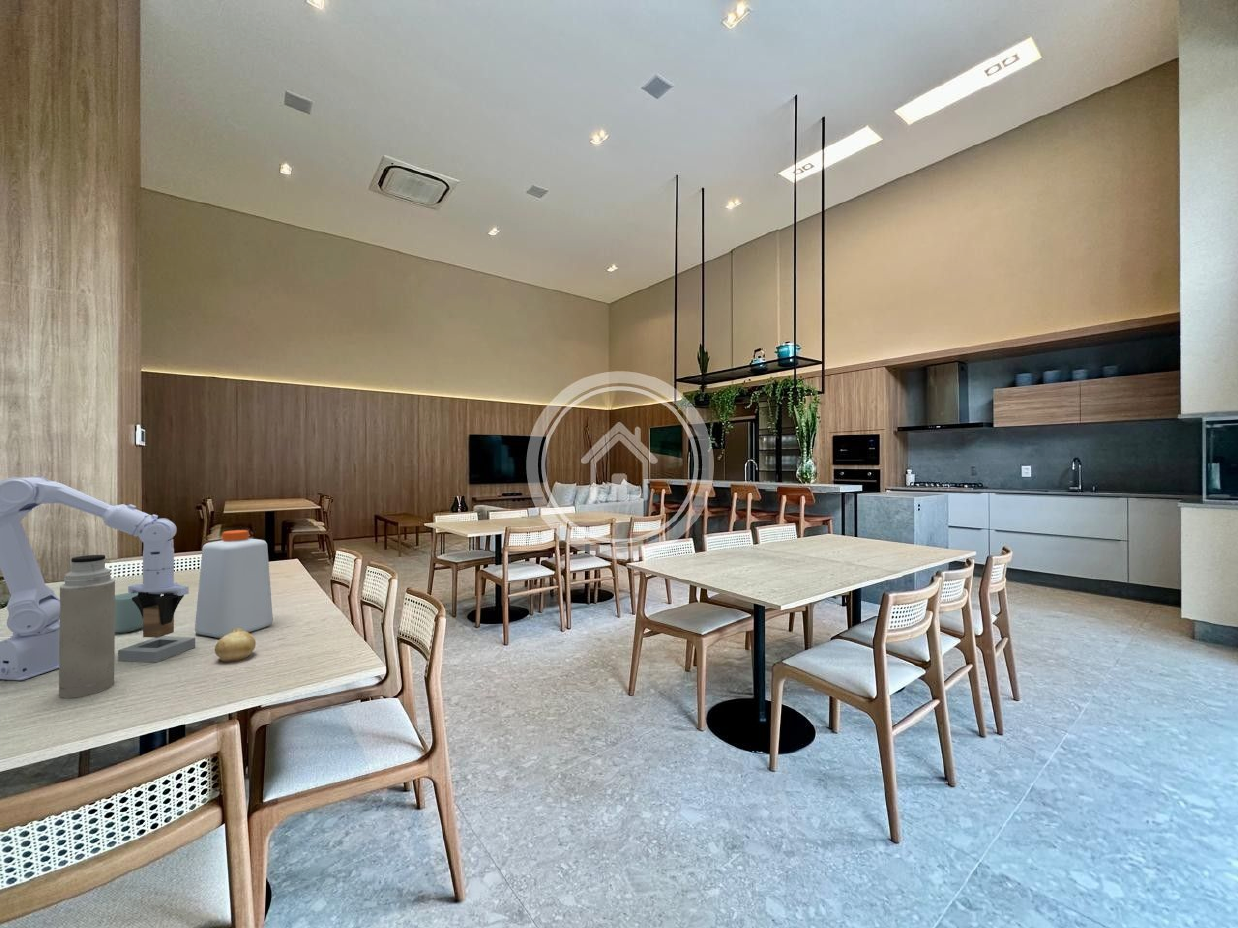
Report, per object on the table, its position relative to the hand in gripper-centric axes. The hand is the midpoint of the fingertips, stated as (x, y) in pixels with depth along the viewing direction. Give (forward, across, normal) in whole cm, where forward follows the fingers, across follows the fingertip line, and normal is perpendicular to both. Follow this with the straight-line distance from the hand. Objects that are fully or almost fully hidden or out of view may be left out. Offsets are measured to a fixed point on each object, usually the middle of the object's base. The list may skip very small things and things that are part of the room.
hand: (158, 622), depth 125 cm
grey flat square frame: (+8, 0, 0) cm, 8 cm away
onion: (+8, -21, 0) cm, 22 cm away
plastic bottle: (+8, -3, -19) cm, 21 cm away
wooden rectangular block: (+3, 0, 0) cm, 3 cm away
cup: (+8, +25, -14) cm, 30 cm away
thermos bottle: (+8, -5, +19) cm, 21 cm away
